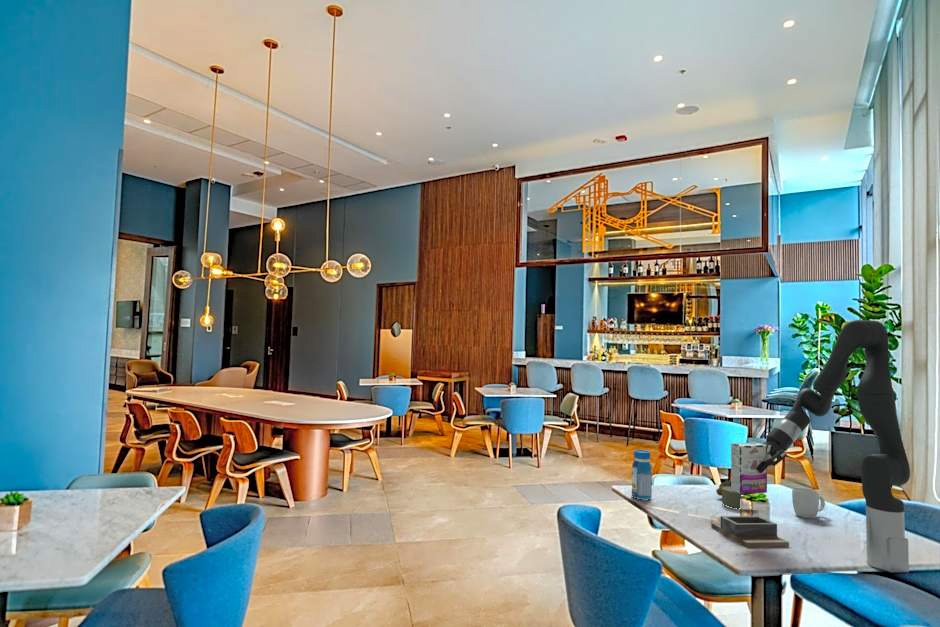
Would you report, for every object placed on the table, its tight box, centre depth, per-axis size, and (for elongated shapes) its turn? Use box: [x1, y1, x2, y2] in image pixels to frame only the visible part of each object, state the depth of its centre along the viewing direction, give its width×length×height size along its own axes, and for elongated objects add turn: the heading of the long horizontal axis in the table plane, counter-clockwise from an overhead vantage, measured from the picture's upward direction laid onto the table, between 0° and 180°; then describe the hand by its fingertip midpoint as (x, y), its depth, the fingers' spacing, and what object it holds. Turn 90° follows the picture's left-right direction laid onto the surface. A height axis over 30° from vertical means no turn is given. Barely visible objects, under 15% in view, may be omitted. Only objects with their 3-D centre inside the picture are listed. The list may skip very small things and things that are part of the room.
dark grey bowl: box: [721, 486, 743, 510], centre depth 223 cm, size 12×12×7 cm
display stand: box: [710, 515, 790, 548], centre depth 184 cm, size 20×15×6 cm
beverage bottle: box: [631, 449, 653, 501], centre depth 230 cm, size 8×8×20 cm
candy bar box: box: [730, 442, 768, 495], centre depth 185 cm, size 11×5×16 cm, turn 104°
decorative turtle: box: [715, 480, 731, 497], centre depth 234 cm, size 10×15×8 cm, turn 105°
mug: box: [791, 487, 826, 519], centre depth 212 cm, size 13×9×10 cm
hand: (752, 469), depth 186 cm, fingers closed on candy bar box, 5 cm apart
